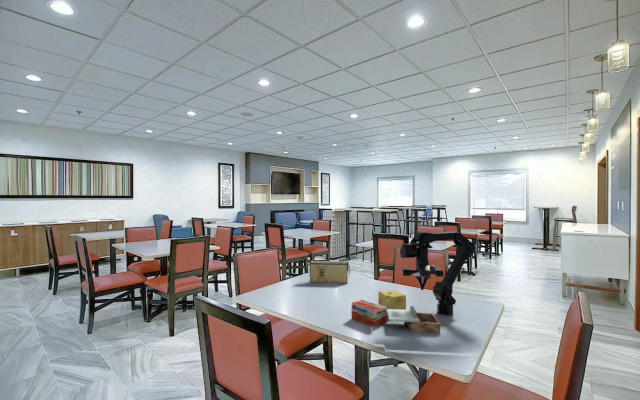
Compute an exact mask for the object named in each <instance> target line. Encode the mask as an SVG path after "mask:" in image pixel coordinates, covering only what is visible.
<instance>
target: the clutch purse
mask: <svg viewBox="0 0 640 400" xmlns="http://www.w3.org/2000/svg"><path fill="white" fill-rule="evenodd" d="M350 266H351V264H350V263H349V261H341V260H340V261H333V260H331V261H330V260H329V261H328V260H309V263H307V267H306V270H307V271H306V272H307V273H309V274H308V276H309V283H323V284H329V283H330V284H331V283H332V284H348V278H349V277H350V275H351V269H350V268H351V267H350Z"/></svg>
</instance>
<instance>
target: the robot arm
mask: <svg viewBox="0 0 640 400" xmlns="http://www.w3.org/2000/svg"><path fill="white" fill-rule="evenodd" d="M439 241H440V242H441V241H442V242H443V241H452V242H453V244H454V245H455V246H456V248H455V256H454V257H453V258H454V259H452V261H451V264H450V266H449V267H448V270H447V271H446V273H445V275H444V270H442V269H441V268H440V267H439V268H438V267H437V268H436V265H430V263H429V249H433V247H434V246H432V245H431V244H432V243H434V242H439ZM476 250H477V247H476V244H475V243H474V242H472V241H471V240H470V239H469V238H467V237H466V236H464V235H463V234H462V233H461V232H459V231H443V232H439V231H438V232H426V231H422V230H420V231H419V230H418V231H415V232H414V235H413V237H412V238H411V241H410V242H409V243H402V245H401V247H400V249H399V255H400V257H401V259H415V269H412V268H411V267H402V268H401V275H402V276H404V277H410V276H412V275H413V277H414V278H416V279H417V282H418V285H419V289H420V290H421V291H424V289H425V286H426V284H427V281H428V280H429V279H431V278H432V275H435V276H436V277H439V278H442V277H443V278H442V280H441V281H439V280H437V281H436V282H435V283H434V286H433V287H432V289H433V290H432V293H433V296H434V297H435V299H436V300H437V304H436V313H438V315H443V316H451V315H452V316H453V315H454V305H456V302H457V300H456V299H455V298H454V296H453V291H454V290H453V288H454V287H453V286H454V284H455V281H456V280H457V278H458V276H459V274H460V272H461V270H462V268H463V267H464V264H465V262H466V261H467V260H469V258H471V257H472V256H473V255H474V254H475V252H476Z"/></svg>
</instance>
